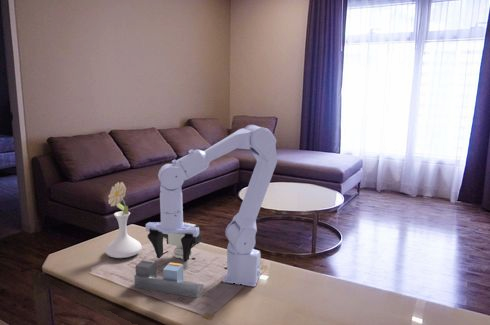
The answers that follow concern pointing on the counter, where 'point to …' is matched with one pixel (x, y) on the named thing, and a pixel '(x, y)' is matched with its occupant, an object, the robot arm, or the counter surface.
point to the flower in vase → (121, 227)
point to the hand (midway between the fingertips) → (173, 258)
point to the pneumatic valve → (176, 240)
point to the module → (173, 272)
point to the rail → (162, 281)
